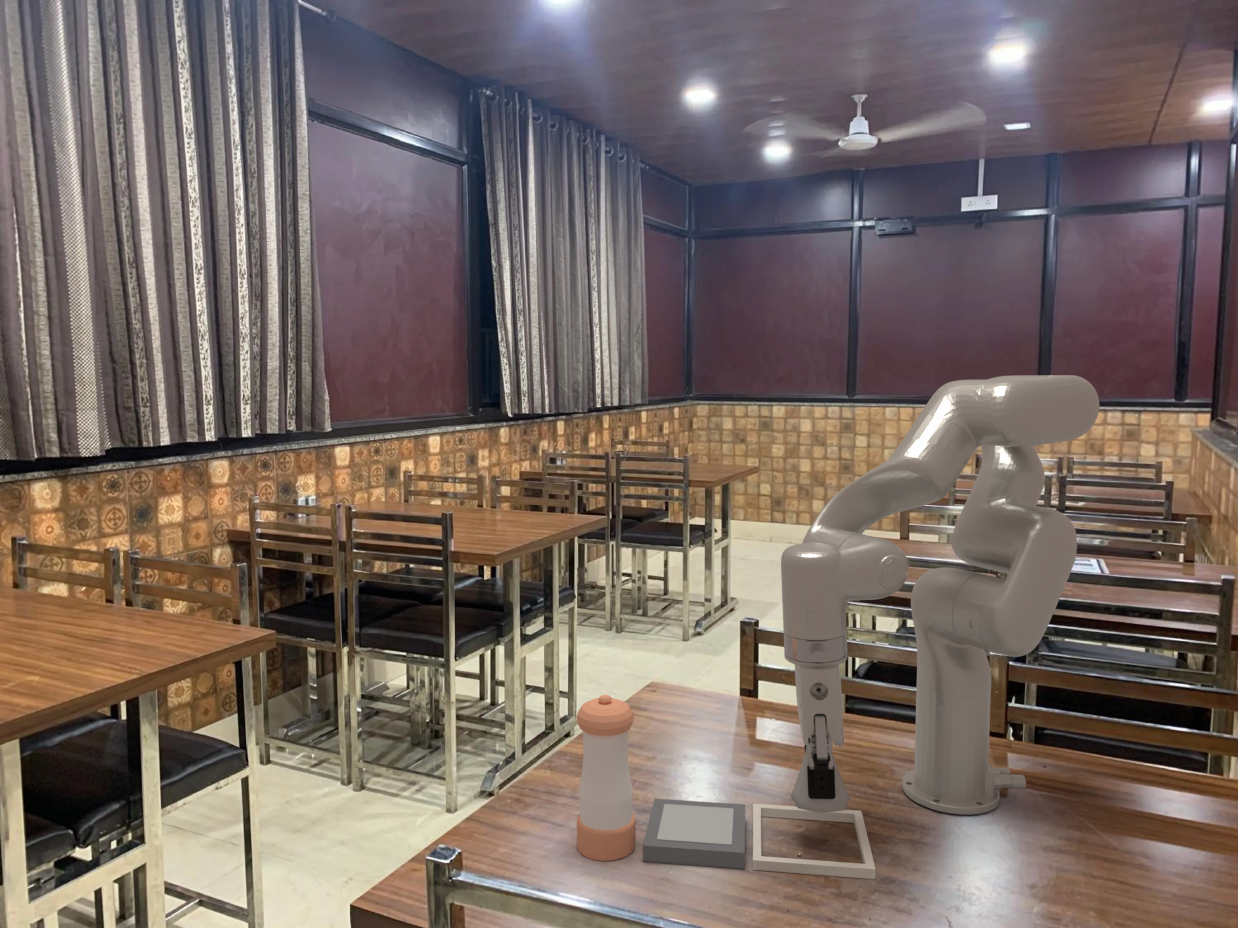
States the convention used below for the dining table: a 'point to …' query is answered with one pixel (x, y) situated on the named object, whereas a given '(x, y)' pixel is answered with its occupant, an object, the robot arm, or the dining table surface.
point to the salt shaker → (605, 781)
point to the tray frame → (812, 866)
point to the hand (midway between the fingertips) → (819, 784)
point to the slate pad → (696, 833)
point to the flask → (818, 805)
